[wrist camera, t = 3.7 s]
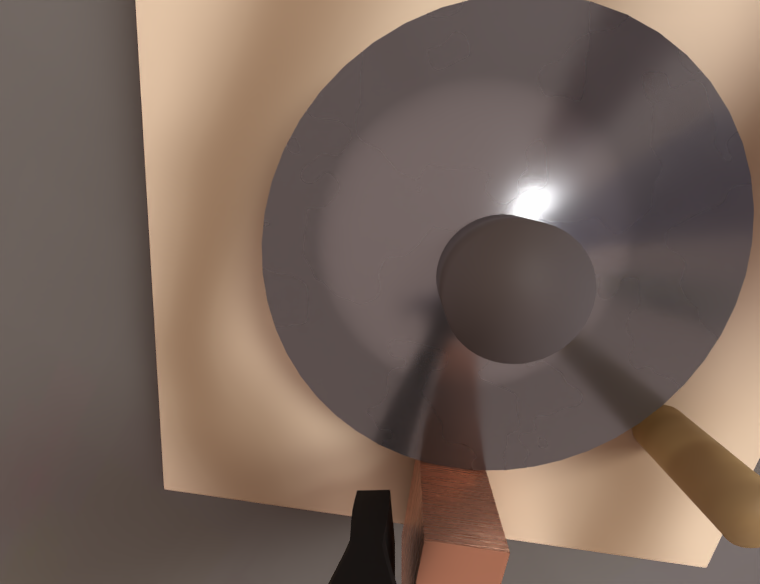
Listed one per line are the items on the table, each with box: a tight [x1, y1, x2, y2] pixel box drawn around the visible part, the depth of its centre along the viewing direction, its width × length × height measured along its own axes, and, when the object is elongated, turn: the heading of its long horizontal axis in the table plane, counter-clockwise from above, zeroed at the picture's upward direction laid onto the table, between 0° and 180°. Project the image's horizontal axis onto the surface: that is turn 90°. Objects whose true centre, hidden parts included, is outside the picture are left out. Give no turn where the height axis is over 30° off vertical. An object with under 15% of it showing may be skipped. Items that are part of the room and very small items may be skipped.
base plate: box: [135, 0, 760, 568], centre depth 10 cm, size 20×20×5 cm
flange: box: [262, 0, 754, 584], centre depth 9 cm, size 16×12×4 cm
